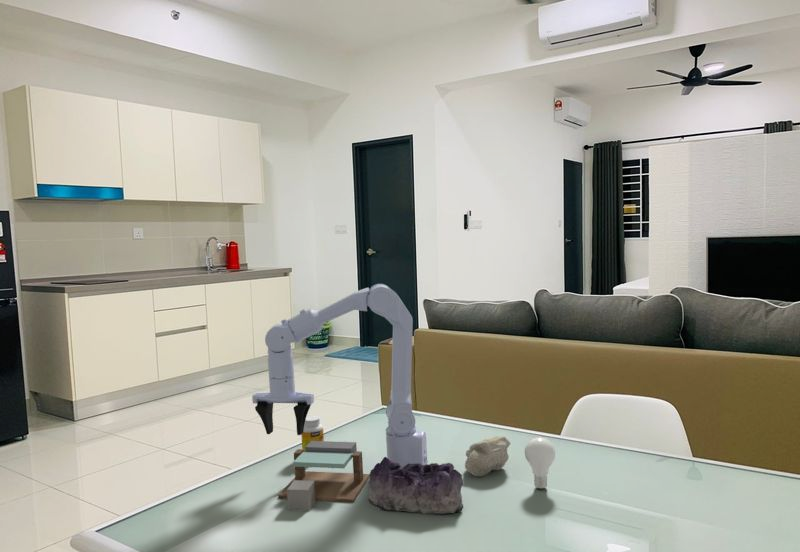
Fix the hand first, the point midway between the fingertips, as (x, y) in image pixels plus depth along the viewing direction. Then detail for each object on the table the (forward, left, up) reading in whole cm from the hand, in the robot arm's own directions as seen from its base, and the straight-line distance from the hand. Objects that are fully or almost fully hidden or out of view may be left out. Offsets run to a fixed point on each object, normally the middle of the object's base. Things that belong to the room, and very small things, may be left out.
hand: (285, 433), depth 138 cm
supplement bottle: (-2, -12, -11) cm, 16 cm away
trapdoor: (-11, +3, -5) cm, 12 cm away
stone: (-9, +14, -10) cm, 19 cm away
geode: (-33, +10, -11) cm, 36 cm away
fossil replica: (-46, -8, -11) cm, 48 cm away
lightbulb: (-58, 0, -11) cm, 59 cm away
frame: (-11, +4, -10) cm, 16 cm away
